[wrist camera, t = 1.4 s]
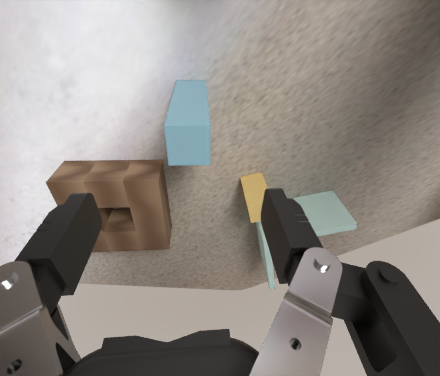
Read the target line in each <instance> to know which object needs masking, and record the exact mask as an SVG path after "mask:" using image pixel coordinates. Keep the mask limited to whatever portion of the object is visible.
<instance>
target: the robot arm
mask: <svg viewBox="0 0 440 376" xmlns="http://www.w3.org/2000/svg"><path fill="white" fill-rule="evenodd" d="M261 224H262V228H263V231H264V234H265V238H266V241H267V244H268V247H269V251H270V254H271V257H272V261H273V264H274V267H275V271H276V274H277V277H278V280H279V283H280V284H286V283H288V286H289V289H288V291H287V293H286V294H285V296H284V298H283V301H282V303H281V305H280V307H279V310H278V312H277V314H276V317H275V319H274V321H273V323H272V326H271V328H270V330H269V332H268V335H267V337H266V339H265V341H264V343H263V346H262V348H261V351H260V352H258V351H256V350H255V349H254V348H253V347H251V346H250V345H248V344H246V343H244V342H242V341H240V340H237V339H234V338H230V332H229V329H221V330H207V331H198V332H195V333H193V334H190V335H187V336H184V337H182V338H179V339H176V340H173V341H171V342H162V341H157V340H153V339H149V338H144V337H140V336H125V337H113V338H112V337H111V338H104V341H103V344H102V348H101V349H98V350H96V351H94V352H92V353H90V354H88V355H87V356H85V357H83V358H82V359H81V357H80V355H79V354H78V352H77V350H76V348H75V346H74V344H73V342H72V339H71V336H70V334H69V331H68V328H67V325H66V323H65V320H64V317H63V314H62V312H61V309H60V307H59V305H58V302H59V299H60V298H61V296H64V295H73V294H74V292H75V290H76V287H77V285H78V283H79V280H80V278H81V276H82V273H83V271H84V269H85V266H86V264H87V262H88V259H89V257H90V255H91V252H92V250H93V248H94V245H95V243H96V240H97V238H98V236H99V233H100V231H101V228H102V218H101V215H100V212H99V209H98V207H97V204H96V201H95V198H94V196H93V194H92V193H72V194H71V195H70V196H69V197H68V199H67V200H66V202H65V203H64V204H63V205H58V206H57V207H56V208H55V209H53V210H52V211H51V212H49V213H48V215H47V216H46V218H45V219H44V220H43V222H42V224H41V225H40V226H39V227H38V229H37V232H35V233H34V234H33V236H32V237H31V239H30V240H29V241H28V243H27V244H26V246H25V247H24V248H23V250H22V251H21V253H20V254H19V255H18V257H17V258H16V259H15V261H14V262H10V263H6V264H4V265H2V266H0V376H320V373H321V368H322V364H323V360H324V356H325V352H326V348H327V344H328V340H329V336H330V332H331V328H332V322H333V319H332V318H331V316H332V317H336V318H340V319H343V320H344V321H345V324H346V326H347V329H348V331H349V333H350V336H351V338H352V340H353V343H354V345H355V348H356V350H357V353H358V355H359V357H360V360H361V362H362V364H363V367H364V369H365V372H366V374H367V376H440V323H439V321H438V320H437V318H436V317H435V316H434V314H433V313H432V312H431V310H430V309H429V307H428V306H427V304H426V303H425V302H424V300H423V299H422V297H421V296H420V295H419V293H418V292H417V291H416V289H415V288H414V286H413V285H412V284H411V282H410V281H409V279H408V278H407V277H406V275H405V274H404V273H403V272H402V271H400V270H399V269H398V268H396V267H395V266H393V265H391V264H389V263H386V262H382V261H373V262H370V263H369V264H368V265H367V267H366V268H362V267H358V266H353V265H349V264H345V263H342V262H340V260H339V259H338V257H337V256H336V255H334V254H333V253H332V252H330V251H328V250H326V249H324V248H323V246H322V244H321V243H320V241H319V239H318V237H317V235H316V233H315V231H314V229H313V228H312V226H311V224H310V222H309V220H308V218H307V216H306V215H305V212H304V211H303V209H302V207H301V205H300V204H298V203H297V202H296V201H295V200H294V199H287V197H286V195H285V193H284V191H283V189H281V188H276V189H266V190H265V192H264V198H263V203H262V209H261Z"/></svg>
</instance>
